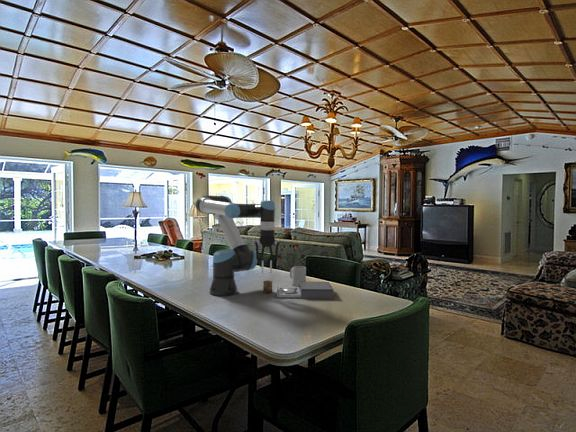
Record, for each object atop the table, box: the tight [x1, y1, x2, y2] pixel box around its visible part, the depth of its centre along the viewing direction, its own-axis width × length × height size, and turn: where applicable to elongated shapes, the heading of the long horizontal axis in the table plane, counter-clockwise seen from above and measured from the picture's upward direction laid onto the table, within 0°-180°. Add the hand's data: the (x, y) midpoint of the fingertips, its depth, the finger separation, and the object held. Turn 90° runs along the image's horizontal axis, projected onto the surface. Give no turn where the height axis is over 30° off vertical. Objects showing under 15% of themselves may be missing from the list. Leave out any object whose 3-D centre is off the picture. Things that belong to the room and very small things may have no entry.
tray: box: [276, 282, 301, 299], centre depth 189 cm, size 17×16×4 cm
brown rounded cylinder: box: [262, 279, 273, 294], centre depth 193 cm, size 5×5×6 cm
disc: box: [282, 288, 297, 294], centre depth 189 cm, size 8×8×2 cm
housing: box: [299, 281, 334, 300], centre depth 189 cm, size 17×18×5 cm
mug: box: [289, 265, 307, 287], centre depth 212 cm, size 12×8×11 cm
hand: (266, 272), depth 183 cm, fingers open, 4 cm apart
